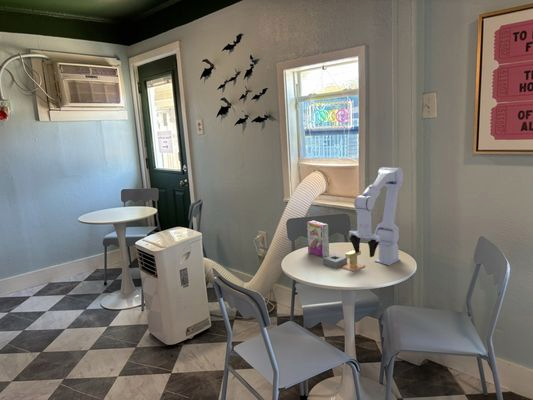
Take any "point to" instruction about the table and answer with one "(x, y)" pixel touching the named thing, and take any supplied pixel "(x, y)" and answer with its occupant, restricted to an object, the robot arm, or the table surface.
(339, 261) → the slate socket block
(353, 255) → the brass rectangular peg
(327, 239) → the candy bar box
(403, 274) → the table surface
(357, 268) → the terracotta pad
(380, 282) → the table surface
